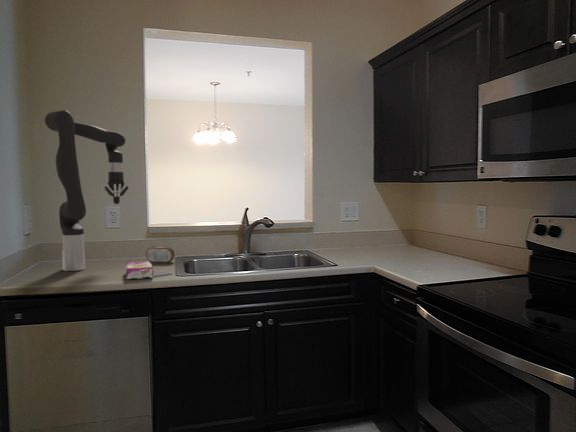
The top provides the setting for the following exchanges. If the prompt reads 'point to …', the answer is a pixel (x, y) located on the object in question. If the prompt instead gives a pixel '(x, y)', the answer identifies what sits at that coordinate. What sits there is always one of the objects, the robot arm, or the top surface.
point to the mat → (159, 273)
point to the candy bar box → (139, 270)
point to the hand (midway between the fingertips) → (116, 203)
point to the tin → (160, 254)
